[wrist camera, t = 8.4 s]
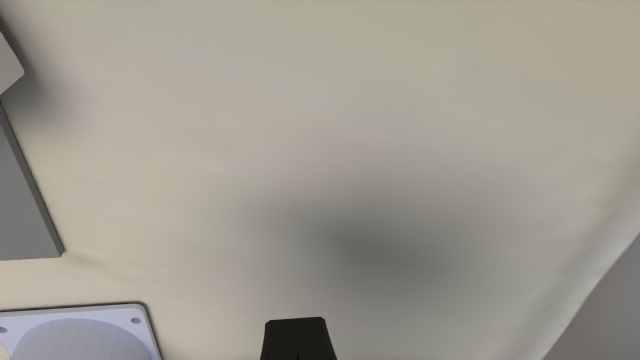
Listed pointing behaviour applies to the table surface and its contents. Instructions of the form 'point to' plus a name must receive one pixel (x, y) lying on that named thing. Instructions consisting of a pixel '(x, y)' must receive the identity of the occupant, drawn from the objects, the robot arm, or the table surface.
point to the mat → (22, 206)
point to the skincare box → (8, 66)
